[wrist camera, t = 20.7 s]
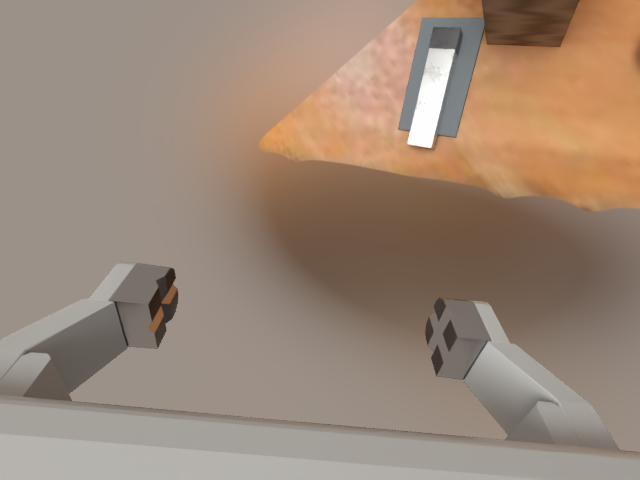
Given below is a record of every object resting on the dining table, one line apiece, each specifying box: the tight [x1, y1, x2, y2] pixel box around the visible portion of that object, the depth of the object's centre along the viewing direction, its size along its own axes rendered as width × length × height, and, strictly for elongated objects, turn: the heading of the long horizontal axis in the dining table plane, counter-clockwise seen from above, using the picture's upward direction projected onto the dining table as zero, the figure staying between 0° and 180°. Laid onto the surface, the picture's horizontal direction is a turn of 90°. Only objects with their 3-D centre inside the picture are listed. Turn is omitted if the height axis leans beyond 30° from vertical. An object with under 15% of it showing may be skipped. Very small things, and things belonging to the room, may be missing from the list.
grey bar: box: [407, 27, 463, 149], centre depth 58 cm, size 4×18×3 cm, turn 169°
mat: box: [398, 18, 485, 137], centre depth 59 cm, size 10×18×1 cm, turn 169°
